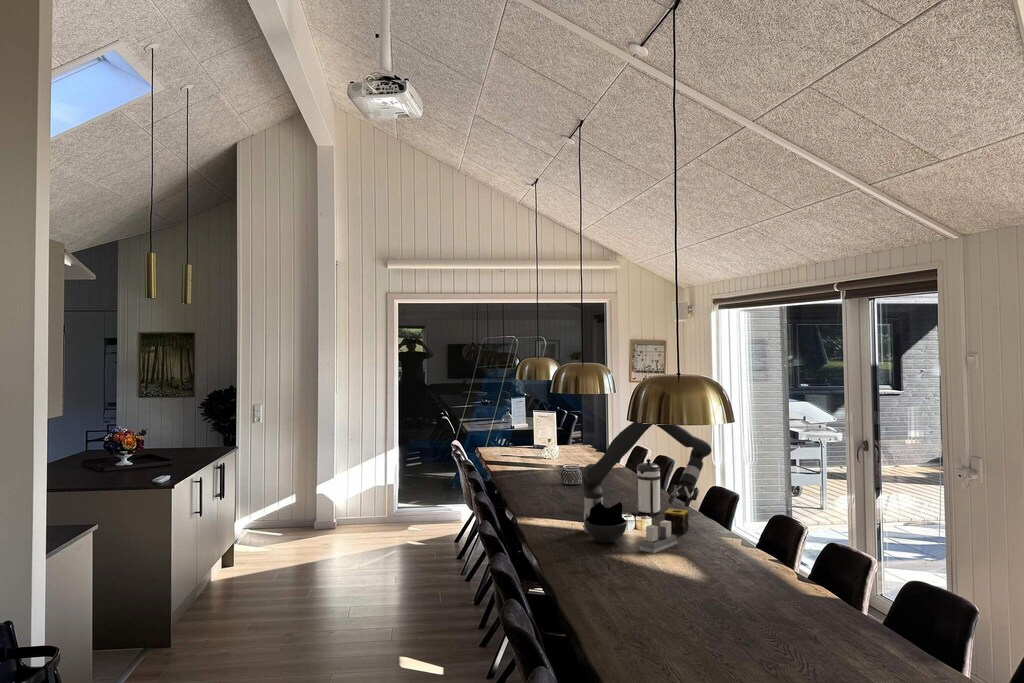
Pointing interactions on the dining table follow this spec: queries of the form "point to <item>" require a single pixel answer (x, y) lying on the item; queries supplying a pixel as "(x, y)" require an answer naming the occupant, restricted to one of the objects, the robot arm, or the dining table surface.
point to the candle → (677, 520)
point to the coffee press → (648, 488)
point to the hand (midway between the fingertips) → (677, 504)
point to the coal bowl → (605, 523)
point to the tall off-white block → (665, 529)
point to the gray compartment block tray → (656, 540)
